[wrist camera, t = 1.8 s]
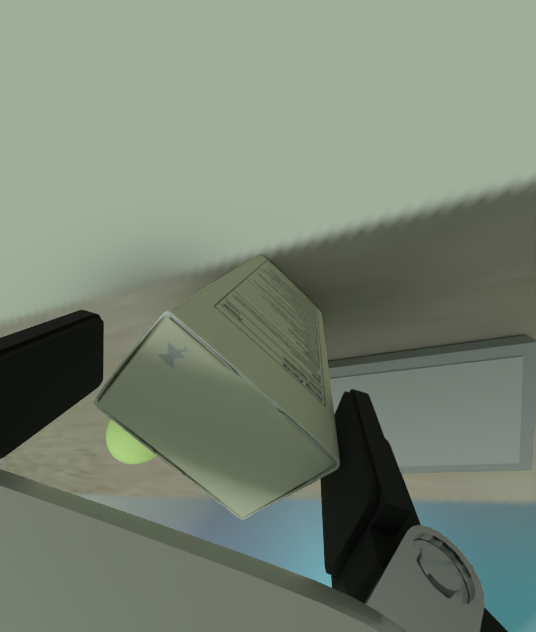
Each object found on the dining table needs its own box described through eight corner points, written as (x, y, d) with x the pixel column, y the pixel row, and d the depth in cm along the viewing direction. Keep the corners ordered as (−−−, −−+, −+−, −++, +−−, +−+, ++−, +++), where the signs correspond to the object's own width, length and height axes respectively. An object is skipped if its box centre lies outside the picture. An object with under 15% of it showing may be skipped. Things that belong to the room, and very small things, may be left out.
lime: (186, 396, 22) (152, 441, 18) (180, 437, 24) (148, 487, 20) (135, 380, 23) (89, 418, 18) (133, 421, 25) (90, 466, 20)
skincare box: (222, 294, 19) (77, 398, 7) (261, 251, 17) (153, 297, 6) (284, 353, 19) (239, 531, 8) (327, 316, 18) (347, 473, 6)
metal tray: (525, 335, 16) (540, 342, 15) (520, 458, 19) (532, 471, 18) (305, 364, 19) (304, 372, 18) (328, 464, 22) (329, 476, 21)
